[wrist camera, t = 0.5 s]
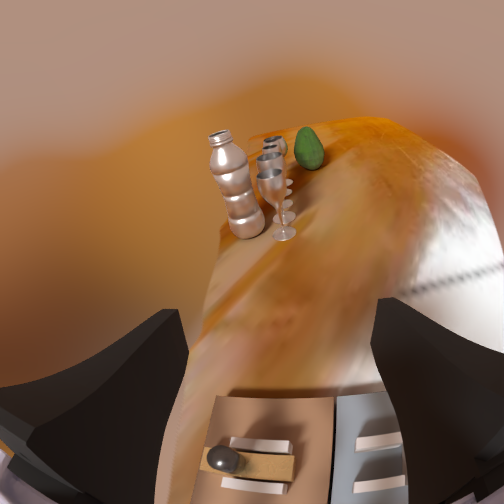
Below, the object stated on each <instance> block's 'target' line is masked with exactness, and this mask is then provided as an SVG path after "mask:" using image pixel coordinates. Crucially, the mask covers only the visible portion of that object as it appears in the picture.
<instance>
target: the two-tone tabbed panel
mask: <svg viewBox="0 0 504 504" xmlns="http://www.w3.org/2000/svg"><path fill="white" fill-rule="evenodd" d="M333 423H334V397H323V398H297V399H267V398H241V397H226V396H216V398H215V403H214V407H213V411H212V415H211V419H210V423H209V427H208V431H207V436H206V440H205V444H204V447H209V448H212V447H214V446H217V445H224V446H227V447H229V448H231V449H232V450H234V451H236V452H245V453H255V454H268V455H291V456H295V457H296V458H297V462H296V470H295V478H294V482H281V481H267V480H256V479H248V478H240V477H233V476H227V475H221V474H215V473H210V472H206V471H203V470H200V469H198V473H197V477H196V481H195V485H194V489H193V494H192V498H191V502H190V504H327V503H328V494H329V485H330V474H331V461H332V445H333ZM203 451H204V448H203ZM202 455H203V452H202ZM201 460H202V456H201ZM201 460H200V464H201ZM199 468H200V465H199ZM331 504H408V477H407V467H406V459H405V453H404V447H403V441H402V436H401V432H400V427H399V423H398V419H397V416H396V413H395V410H394V408H393V405H392V403H391V400H390V398H389V395H388V393H387V391H382V392H375V393H367V394H359V395H349V396H338V397H337V420H336V446H335V462H334V475H333V486H332V496H331Z"/></svg>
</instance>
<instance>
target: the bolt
mask: <svg viewBox="0 0 504 504" xmlns="http://www.w3.org/2000/svg"><path fill="white" fill-rule="evenodd" d="M296 462H297V458H296V457H295V456H291V455H268V454H255V453H245V452H236V451H234V450H232V449H231V448H229V447H227V446H224V445H217V446H214V447H212V448H209V447H204V451H203V455H202V460H201V464H200V468H199V469H200V470H203V471H206V472H210V473H215V474H221V475H227V476H233V477H240V478H248V479H256V480H267V481H281V482H294V478H295V470H296Z"/></svg>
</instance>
